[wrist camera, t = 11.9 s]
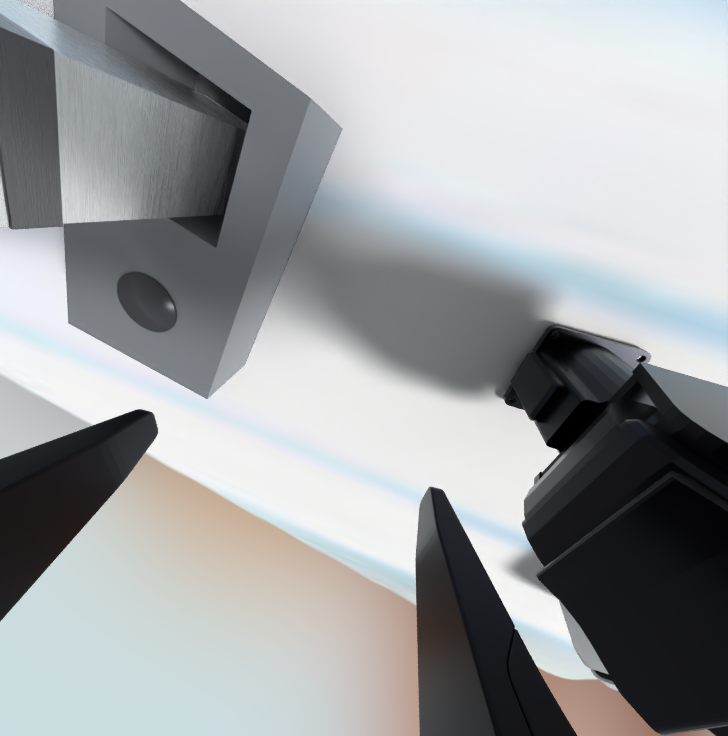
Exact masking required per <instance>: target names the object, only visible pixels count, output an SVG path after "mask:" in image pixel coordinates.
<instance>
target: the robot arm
mask: <svg viewBox="0 0 728 736" xmlns="http://www.w3.org/2000/svg"><path fill="white" fill-rule="evenodd" d="M555 331H558V333H557V334H556V335H555V336H551V335H552V333H553V332H555ZM639 356H641V358H639V359H637V358H638V357H639ZM636 359H637V360H636ZM650 359H651V355H650V353H648V352H647V351H645V350H643V349H640V348H636V347H633V346H629V345H626V344H622V343H618V342H615V341H611V340H608V339H604V338H601V337H597V336H593V335H590V334H586V333H583V332H579V331H576V330H572V329H569V328H565V327H561V326H558V325H553V326H550V327H549V328H547V329H546V331H545V332H544V334H543V335H542V337H541V339H540V340H539V342H538V343H537V345H536V346H535V348H534V349H533V351H532V352H530V353H529V354H528V355H527V357H526V358H525V360H524V361H523V363H522V364H521V366H520V368H519V369H518V371H517V372H516V374H515V375H514V377H513V379H512V380H511V383H512V384H511V386H510V387H509V389H508V390H507V392H506V393H505V395H504V401H505V403H506V404H507V405H509V406H513V407H516V408H519V409H523V410H525V411H526V413H527V415H528V417H529V419H530V420H532V421H534V422H535V424H536V426H537V428H538V429H539V431H540V433H541V435H542V437H543V439H544V441H545V443H546V445H547V446H548V447H551V448H554V449H557V450H558V452H559V455H558V456H557V457H556V458H555V459H554V461H553V462H552V463H551V464H550V465H549V466H548V467H547V468H546V469H545V470H544V471H543V472H540V473H539V474H538V475H537V476H536V477H535V479H534V486H533V487H532V488H531V489H530V490H529V492H528V494H527V496H526V498H525V500H524V516H525V520H524V521H523V522H522V526H523V528H524V531H525V534H526V536H527V539H528V541H529V543H530V545H531V546H532V548H533V550H534V552H535V553H536V555H537V557H538V558H539V560H540V561H541V563H542V564H543V565H544V568H543V569H541V570H540V571H539V572H537V577H538V579H539V580H540V581H541V582H542V583H543V584H544V585H545V586H546V587H547V588H548V589H549V590H550V591H551V592H552V593H553V594H554V595H555V596H556V597H557V598H558V599H559V600H560V601H561V603H562V604H563V605H564V607H565V608H566V609H567V610H568V612H569V613H570V614H571V615H572V617H573V618H574V619H575V621H576V622H577V623H578V624H579V626H580V627H581V629H582V630H583V632H584V634H585V635H586V637H587V638H588V640H589V641H590V643H591V645H592V646H593V648H594V650H595V652H596V653H597V655H598V657H599V658H600V660H601V662H602V664H603V665H604V667H605V669H606V670H607V672H608V674H609V676H610V677H611V679H612V681H613V682H614V684H615V686H616V688H617V689H618V691H619V692H620V693H621V695H622V696H623V697H624V698H625V699H626V700H627V701H628V703H629V704H630V705H631V706H632V707H633V708H634V709H635V710H636V712H637V713H638V714H639V715H640V716H641V717H642V718H643V719H644V720H645V722H646V723H647V724H648V725H649V726H650V727H651V728H652V729H653V730H654V731H656V732H657V733H660V734H662V735H669V734H676V733H683V732H689V731H696V730H703V729H707V730H709V731H710V732H712V733H713V734H714V735H715V736H728V387H726V386H722V385H719V384H715V383H712V382H708V381H705V380H701V379H698V378H695V377H691V376H688V375H684V374H681V373H677V372H674V371H670V370H667V369H664V368H660V367H657V366H653V365H650V364H647V363H648V362H649V361H650ZM510 398H514V399H512V400H509V399H510ZM157 434H158V427H157V424H156V420H155V416H154V414H153V413H152V412H149V411H146V410H141V409H138V410H134V411H131V412H129V413H126V414H123V415H120V416H118V417H115V418H112V419H109V420H107V421H104V422H101V423H99V424H96V425H93V426H90V427H88V428H85V429H82V430H79V431H77V432H74V433H71V434H68V435H66V436H63V437H60V438H57V439H55V440H52V441H49V442H46V443H44V444H41V445H38V446H35V447H33V448H30V449H27V450H25V451H22V452H19V453H16V454H13V455H11V456H8V457H5V458H2V459H0V621H1V620H2V619H3V618H4V617H5V615H6V614H7V613H8V612H9V611H10V610H11V609H12V607H13V606H14V605H15V604H16V603H17V602H18V601H19V600H20V599H21V597H22V596H23V595H24V594H25V593H26V592H27V591H28V589H29V588H30V587H31V586H32V585H33V584H34V583H35V581H36V580H37V579H38V578H39V577H40V576H41V574H42V573H43V572H44V571H45V570H46V569H47V568H48V566H50V564H51V563H52V562H53V561H54V560H55V559H56V558H57V556H58V555H59V554H60V553H61V552H62V551H63V550H64V549H65V547H66V546H67V545H68V544H69V543H70V541H72V539H73V538H74V537H75V536H76V535H77V534H78V533H79V532H80V530H81V529H82V528H83V527H84V526H85V524H87V522H88V521H89V520H90V519H91V518H92V516H93V515H95V513H96V512H97V511H98V510H99V509H100V508H101V506H102V505H103V504H104V503H105V502H106V501H107V500H108V498H110V496H111V495H112V494H113V493H114V492H115V490H117V488H118V487H119V486H120V485H121V484H122V483H123V481H124V480H125V479H126V478H127V476H128V475H129V473H130V472H131V471H132V470H133V468H134V467H135V465H136V464H137V463H138V461H139V460H140V459H141V457H142V456H143V454H144V453H145V452H146V450H147V449H148V448H149V446H150V445H151V444H152V442H153V441H154V439H155V438H156V436H157ZM416 601H417V641H418V678H419V720H420V736H577V735H576V733H575V731H574V730H573V728H572V726H571V725H570V723H569V721H568V720H567V718H566V716H565V715H564V713H563V712H562V710H561V708H560V706H559V705H558V703H557V701H556V700H555V698H554V696H553V694H552V693H551V691H550V689H549V688H548V686H547V684H546V683H545V681H544V679H543V677H542V676H541V674H540V672H539V670H538V668H537V666H536V665H535V663H534V661H533V659H532V657H531V655H530V654H529V652H528V650H527V648H526V646H525V644H524V642H523V640H522V639H521V637H520V635H519V633H518V631H517V630H516V629H514V628H515V626H514V624H513V622H512V620H511V618H510V616H509V614H508V612H507V610H506V608H505V607H504V605H503V603H502V601H501V599H500V597H499V595H498V593H497V591H496V590H495V588H494V586H493V584H492V582H491V580H490V578H489V576H488V574H487V572H486V571H485V569H484V567H483V565H482V563H481V561H480V559H479V557H478V555H477V553H476V552H475V550H474V548H473V546H472V544H471V542H470V540H469V538H468V536H467V535H466V533H465V531H464V529H463V527H462V525H461V523H460V521H459V519H458V517H457V516H456V514H455V512H454V510H453V508H452V506H451V504H450V502H449V500H448V498H447V497H446V495H445V493H444V491H443V490H441V489H438V488H435V487H429V488H428V490H427V491H426V493H425V495H424V497H423V499H422V501H421V503H420V509H419V521H418V534H417V547H416Z"/></svg>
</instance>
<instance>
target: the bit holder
mask: <svg viewBox="0 0 728 736" xmlns="http://www.w3.org/2000/svg"><path fill="white" fill-rule="evenodd" d="M53 6H54V19H56V20H58V21H60V22H61V23H63V24H65V25H67V26H69V27H71V28H73V29H75V30H77V31H79V32H81V33H83V34H85V35H87V36H89V37H91V38H93V39H95V40H97V41H99V42H101V43H103V44H105V45H107V46H109V47H111V48H113V49H115V50H117V51H119V52H121V53H123V54H125V55H127V56H129V57H131V58H133V59H135V60H137V61H139V62H141V63H143V64H145V65H147V66H149V67H151V68H153V69H155V70H157V71H159V72H161V73H163V74H165V75H167V76H168V77H170V78H172V79H174V80H176V81H178V82H180V83H182V84H184V85H186V86H188V87H190V88H192V89H194V84H195V77H196V71H197V72H199V73H200V74H201V75H203V76H204V77H206V78H207V79H208V80H210V81H211V82H213V83H214V84H215V85H217V86H218V87H220V88H221V89H222V90H224V91H225V92H227V93H228V94H229V95H231V96H232V97H234V98H235V99H236V100H238V101H239V102H240V103H242V104H243V105H245V106H246V107H247V108H249V109H250V110H252V112H251V116H250V120H249V124H248V128H247V131H246V135H245V139H244V143H243V147H242V151H241V155H240V158H239V162H238V166H237V170H236V174H235V178H234V182H233V186H232V189H231V193H230V197H229V201H228V205H227V209H226V213H225V215H209V216H191V217H173V218H155V219H137V220H119V221H101V222H83V223H65V224H64V240H65V262H66V283H67V304H68V323H69V324H71V325H73V326H75V327H76V328H78V329H80V330H82V331H84V332H86V333H87V334H89V335H91V336H93V337H95V338H96V339H98V340H100V341H102V342H104V343H106V344H107V345H109V346H111V347H113V348H115V349H117V350H118V351H120V352H122V353H124V354H126V355H128V356H129V357H131V358H133V359H135V360H137V361H139V362H140V363H142V364H144V365H146V366H148V367H149V368H151V369H153V370H155V371H157V372H159V373H160V374H162V375H164V376H166V377H168V378H170V379H171V380H173V381H175V382H177V383H179V384H181V385H182V386H184V387H186V388H188V389H190V390H191V391H193V392H195V393H197V394H199V395H201V396H202V397H204V398H206V399H208V398H209V397H210V396H211V395H212V394H213V393H214V392H215V391H217V390H218V389H219V388H220V387H221V386H222V385H223V384H224V383H225V382H226V381H227V380H229V379H230V378H231V377H232V376H233V375H234V374H235V373H236V372H237V371H238V370H239V369H241V368H242V367H243V366H244V365H245V363H246V361H247V358H248V356H249V353H250V351H251V348H252V346H253V344H254V341H255V339H256V336H257V334H258V331H259V329H260V327H261V324H262V322H263V319H264V317H265V315H266V312H267V310H268V307H269V305H270V302H271V300H272V298H273V295H274V293H275V290H276V288H277V285H278V283H279V281H280V278H281V276H282V273H283V271H284V269H285V266H286V264H287V261H288V259H289V256H290V254H291V252H292V249H293V247H294V244H295V242H296V240H297V237H298V235H299V232H300V230H301V227H302V225H303V223H304V220H305V218H306V215H307V213H308V210H309V208H310V206H311V203H312V201H313V198H314V196H315V194H316V191H317V189H318V186H319V184H320V181H321V179H322V177H323V174H324V172H325V169H326V167H327V165H328V162H329V160H330V157H331V155H332V152H333V150H334V148H335V145H336V143H337V140H338V138H339V135H340V133H341V131H342V128H341V127H340V126H339V125H338V124H337V123H336V122H335V121H334V120H333V119H332V118H331V117H330V116H329V115H328V114H327V113H326V112H324V111H323V110H322V109H321V108H320V107H319V106H318V105H317V104H316V103H315V102H314V101H313V100H312V99H311V98H310V97H308V96H307V95H306V94H304V93H303V92H302V91H300V90H299V89H298V88H296V87H295V86H294V85H292V84H291V83H290V82H288V81H287V80H286V79H284V78H283V77H282V76H280V75H279V74H278V73H276V72H275V71H273V70H272V69H271V68H269V67H268V66H267V65H265V64H264V63H263V62H261V61H260V60H259V59H257V58H256V57H255V56H253V55H252V54H251V53H249V52H248V51H247V50H245V49H244V48H243V47H241V46H240V45H239V44H237V43H236V42H235V41H233V40H232V39H231V38H229V37H228V36H227V35H225V34H224V33H223V32H221V31H220V30H219V29H217V28H216V27H215V26H213V25H212V24H211V23H209V22H208V21H207V20H205V19H204V18H203V17H201V16H200V15H199V14H197V13H196V12H195V11H193V10H192V9H191V8H189V7H188V6H187V5H185V4H184V3H183V2H181V1H180V0H53Z"/></svg>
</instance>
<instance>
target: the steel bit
mask: <svg viewBox="0 0 728 736" xmlns="http://www.w3.org/2000/svg"><path fill="white" fill-rule="evenodd" d="M247 128H248V124H247V123H246V122H244V121H243V120H241V119H240V118H238V117H237V116H236V115H234V114H233V113H231V112H230V111H229V110H227V109H226V108H224V107H223V106H221V105H220V104H219V103H217V102H216V101H214V100H213V99H212V98H210V97H208V96H206V95H204V94H202V93H200V92H198V91H196V90H194V89H192V88H190V87H188V86H186V85H184V84H182V83H180V82H178V81H176V80H174V79H172V78H170V77H168V76H167V75H165V74H163V73H161V72H159V71H157V70H155V69H153V68H151V67H149V66H147V65H145V64H143V63H141V62H139V61H137V60H135V59H133V58H131V57H129V56H127V55H125V54H123V53H121V52H119V51H117V50H115V49H113V48H111V47H109V46H107V45H105V44H103V43H101V42H99V41H97V40H95V39H93V38H91V37H89V36H87V35H85V34H83V33H81V32H79V31H77V30H75V29H73V28H71V27H69V26H67V25H65V24H63V23H61V22H60V21H58V20H56V19H54V18H52V17H50V16H48V15H46V14H44V13H42V12H40V11H38V10H36V9H34V8H32V7H30V6H28V5H26V4H24V3H22V2H20V1H18V0H0V227H9V228H11V229H28V228H44V227H60V226H63V224H65V223H83V222H101V221H119V220H137V219H155V218H173V217H191V216H209V215H225V213H226V209H227V205H228V201H229V197H230V193H231V189H232V186H233V182H234V178H235V174H236V170H237V166H238V162H239V158H240V155H241V151H242V147H243V143H244V139H245V135H246V131H247Z"/></svg>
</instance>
